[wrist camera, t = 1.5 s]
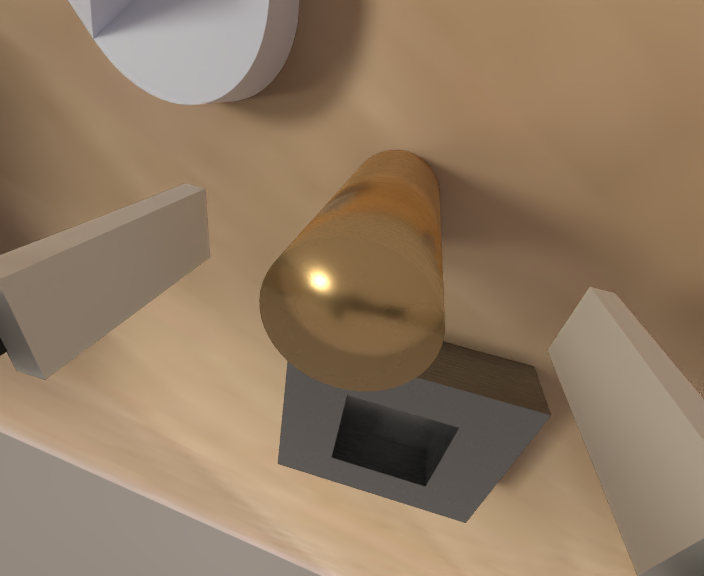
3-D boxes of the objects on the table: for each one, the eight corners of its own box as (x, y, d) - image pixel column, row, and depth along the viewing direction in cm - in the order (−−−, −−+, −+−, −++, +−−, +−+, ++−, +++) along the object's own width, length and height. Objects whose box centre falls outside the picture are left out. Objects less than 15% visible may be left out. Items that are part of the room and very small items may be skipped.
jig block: (294, 423, 32) (277, 463, 28) (309, 305, 24) (289, 341, 21) (462, 474, 30) (465, 522, 27) (534, 366, 23) (551, 415, 20)
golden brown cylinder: (344, 227, 21) (257, 364, 11) (359, 140, 18) (261, 214, 8) (424, 247, 20) (414, 410, 10) (452, 161, 17) (475, 267, 7)
